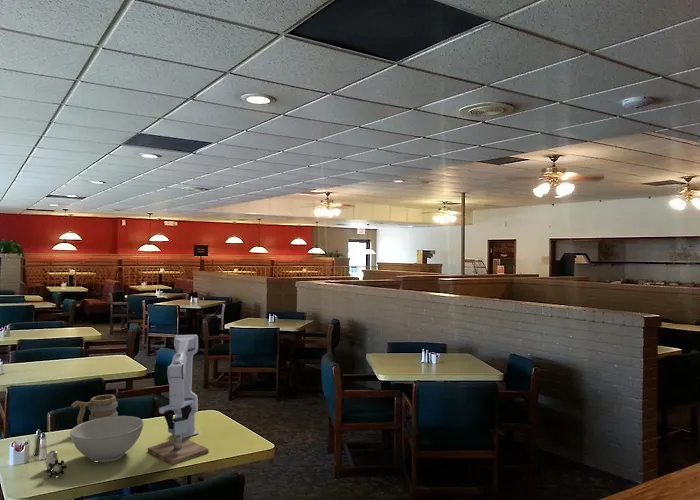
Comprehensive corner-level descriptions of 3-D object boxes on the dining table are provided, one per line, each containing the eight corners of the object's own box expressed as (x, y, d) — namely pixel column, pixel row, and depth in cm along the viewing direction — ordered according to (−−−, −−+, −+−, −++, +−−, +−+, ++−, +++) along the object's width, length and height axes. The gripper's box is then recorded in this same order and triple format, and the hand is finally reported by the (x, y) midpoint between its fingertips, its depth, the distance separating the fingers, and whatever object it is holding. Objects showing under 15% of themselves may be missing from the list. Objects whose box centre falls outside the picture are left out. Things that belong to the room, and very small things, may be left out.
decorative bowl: (73, 450, 221) (72, 421, 221) (142, 440, 231) (142, 412, 231) (67, 475, 196) (66, 443, 196) (145, 463, 207) (144, 432, 207)
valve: (40, 470, 202) (46, 480, 193) (40, 452, 202) (46, 462, 192) (60, 465, 206) (66, 475, 197) (60, 448, 206) (66, 457, 197)
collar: (168, 432, 217) (167, 419, 217) (180, 428, 221) (180, 416, 221) (175, 435, 213) (174, 422, 213) (187, 431, 217) (187, 419, 217)
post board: (147, 451, 218) (147, 435, 218) (183, 440, 230) (182, 425, 230) (171, 464, 205) (171, 447, 205) (208, 452, 216) (208, 436, 216)
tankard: (113, 421, 257) (112, 390, 257) (122, 427, 248) (121, 395, 248) (67, 431, 244) (67, 398, 244) (76, 438, 234) (75, 404, 234)
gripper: (165, 399, 209) (165, 433, 209) (198, 391, 220) (198, 424, 220) (156, 396, 214) (157, 429, 214) (189, 388, 225) (189, 420, 225)
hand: (177, 426), depth 217 cm, fingers closed on collar, 6 cm apart
